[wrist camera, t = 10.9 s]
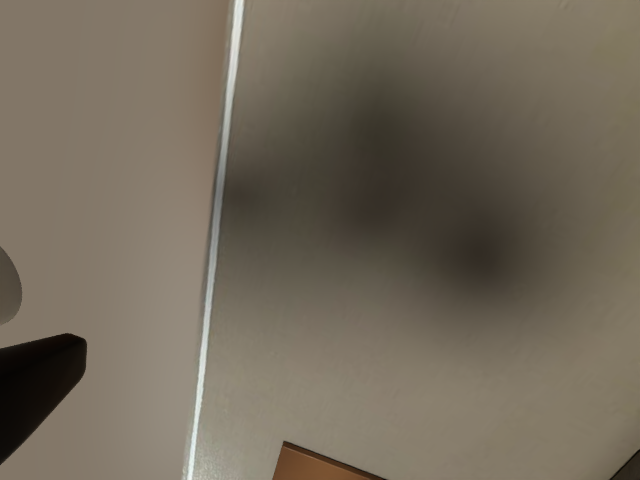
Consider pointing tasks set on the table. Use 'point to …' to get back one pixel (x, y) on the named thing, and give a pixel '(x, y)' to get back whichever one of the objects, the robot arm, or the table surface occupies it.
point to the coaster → (313, 467)
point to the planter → (630, 470)
